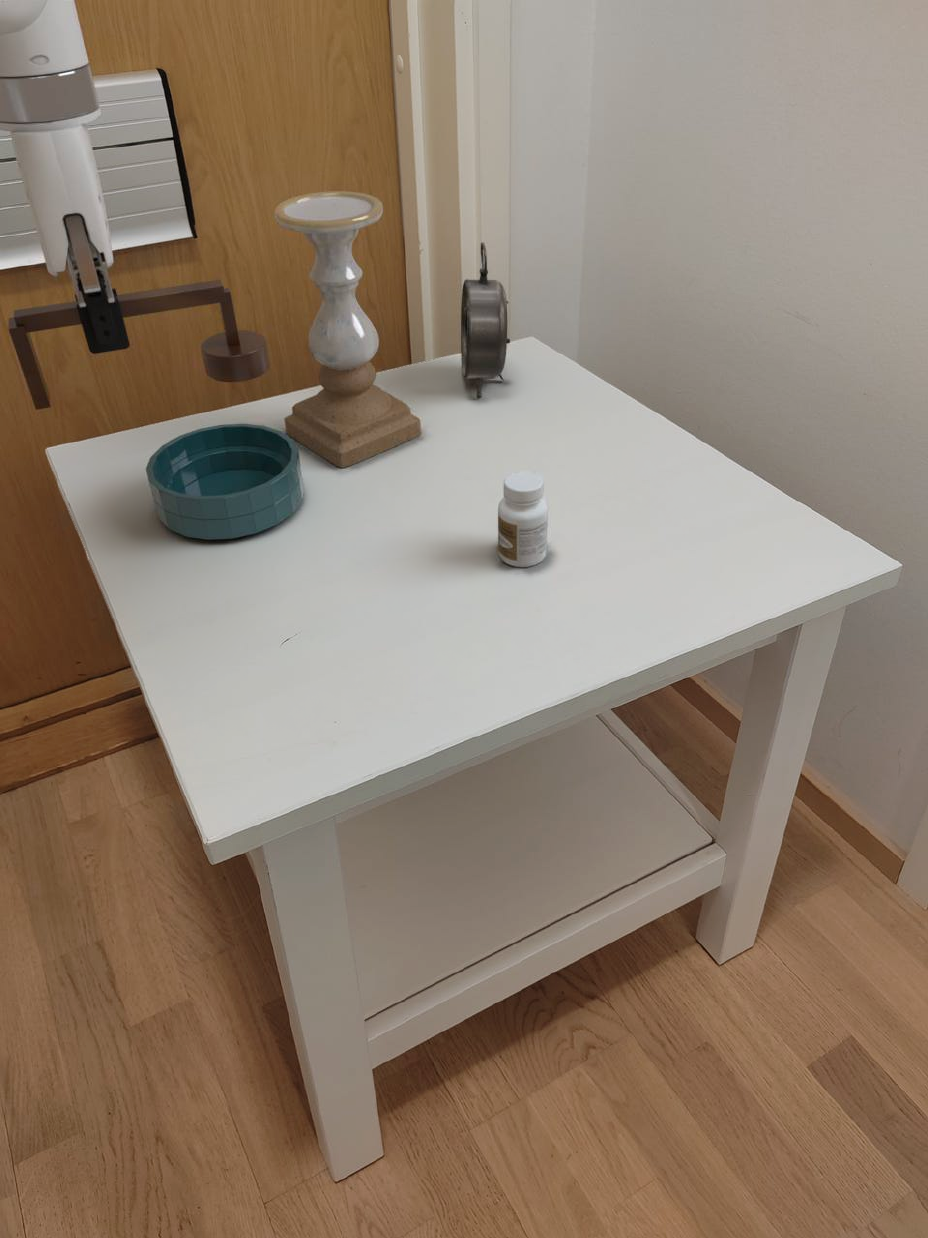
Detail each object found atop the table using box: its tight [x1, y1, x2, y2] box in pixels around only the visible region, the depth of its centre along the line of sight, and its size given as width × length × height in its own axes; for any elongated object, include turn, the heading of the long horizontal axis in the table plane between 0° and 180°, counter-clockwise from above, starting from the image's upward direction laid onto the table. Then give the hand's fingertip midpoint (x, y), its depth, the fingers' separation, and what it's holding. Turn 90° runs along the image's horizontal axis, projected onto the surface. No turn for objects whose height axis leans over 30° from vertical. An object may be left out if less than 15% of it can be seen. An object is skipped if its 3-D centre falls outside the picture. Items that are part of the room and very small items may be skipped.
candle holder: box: [274, 190, 422, 469], centre depth 97 cm, size 11×11×24 cm
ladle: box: [7, 279, 271, 411], centre depth 80 cm, size 20×6×8 cm, turn 111°
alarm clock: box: [460, 241, 511, 399], centre depth 109 cm, size 11×5×16 cm, turn 3°
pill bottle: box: [497, 470, 549, 568], centre depth 84 cm, size 4×4×8 cm
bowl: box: [145, 423, 305, 541], centre depth 93 cm, size 14×14×5 cm
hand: (108, 342), depth 79 cm, fingers closed on ladle
